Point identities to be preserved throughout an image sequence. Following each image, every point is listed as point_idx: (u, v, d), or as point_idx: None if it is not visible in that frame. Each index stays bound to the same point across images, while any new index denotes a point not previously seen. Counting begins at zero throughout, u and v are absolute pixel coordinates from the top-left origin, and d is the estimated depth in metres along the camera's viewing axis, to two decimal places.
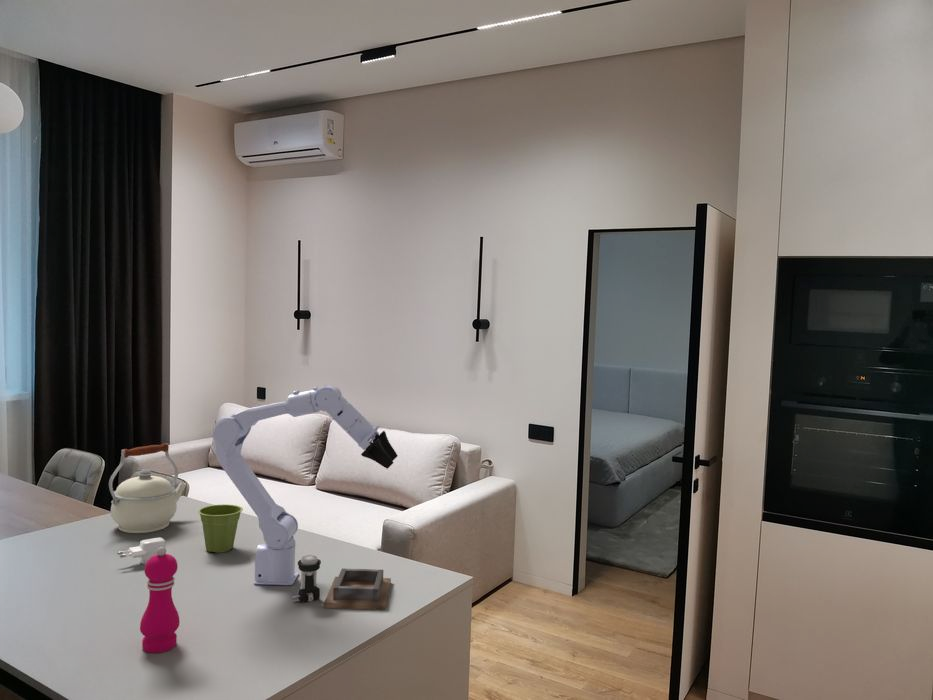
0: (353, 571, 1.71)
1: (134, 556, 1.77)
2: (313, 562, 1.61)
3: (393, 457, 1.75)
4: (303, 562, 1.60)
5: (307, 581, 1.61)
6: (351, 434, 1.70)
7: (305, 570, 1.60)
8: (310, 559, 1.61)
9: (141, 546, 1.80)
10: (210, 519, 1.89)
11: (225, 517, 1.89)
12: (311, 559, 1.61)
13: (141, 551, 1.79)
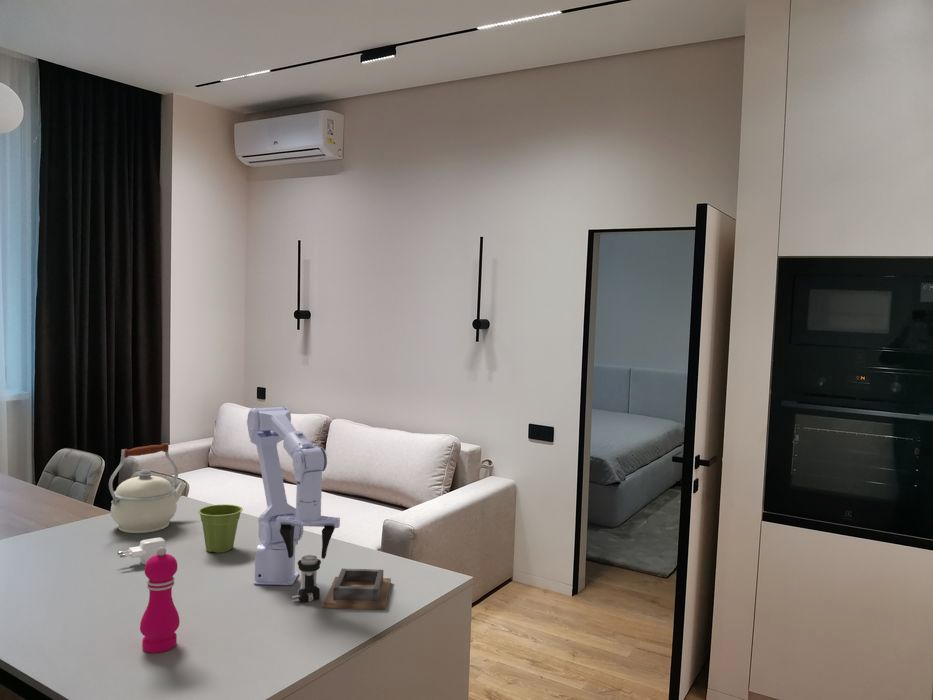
0: (353, 571, 1.71)
1: (134, 556, 1.77)
2: (313, 562, 1.61)
3: None
4: (303, 562, 1.60)
5: (307, 581, 1.61)
6: None
7: (305, 570, 1.60)
8: (310, 559, 1.61)
9: (141, 546, 1.80)
10: (210, 519, 1.89)
11: (225, 517, 1.89)
12: (311, 559, 1.61)
13: (141, 551, 1.79)
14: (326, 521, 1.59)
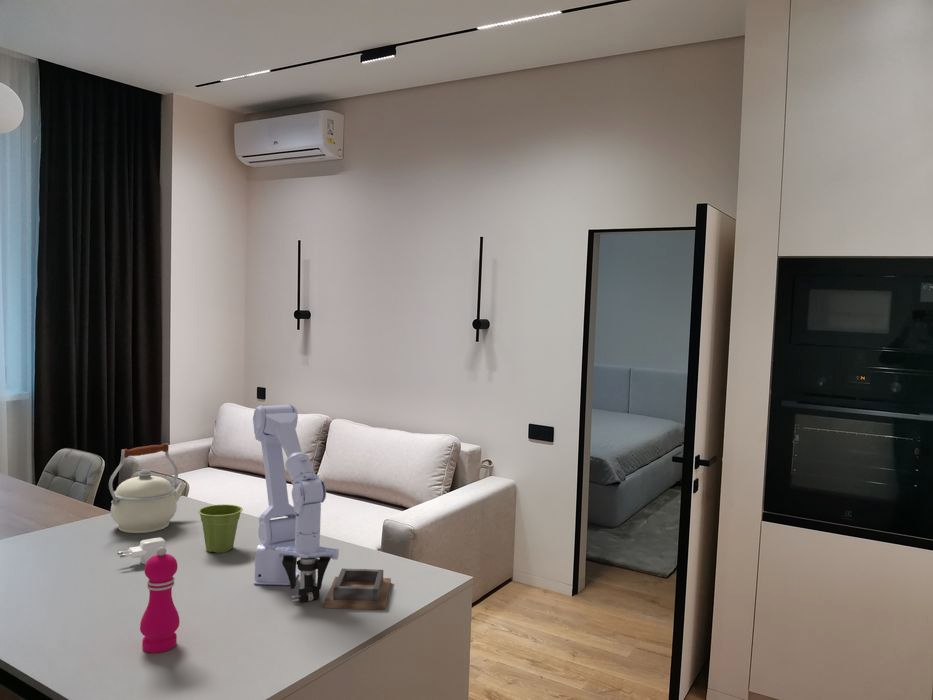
0: (353, 571, 1.71)
1: (134, 556, 1.77)
2: (312, 562, 1.61)
3: None
4: (302, 562, 1.61)
5: (306, 581, 1.61)
6: None
7: (304, 570, 1.60)
8: (309, 559, 1.61)
9: (141, 546, 1.80)
10: (210, 519, 1.89)
11: (225, 517, 1.89)
12: (310, 558, 1.61)
13: (141, 551, 1.79)
14: (325, 553, 1.60)
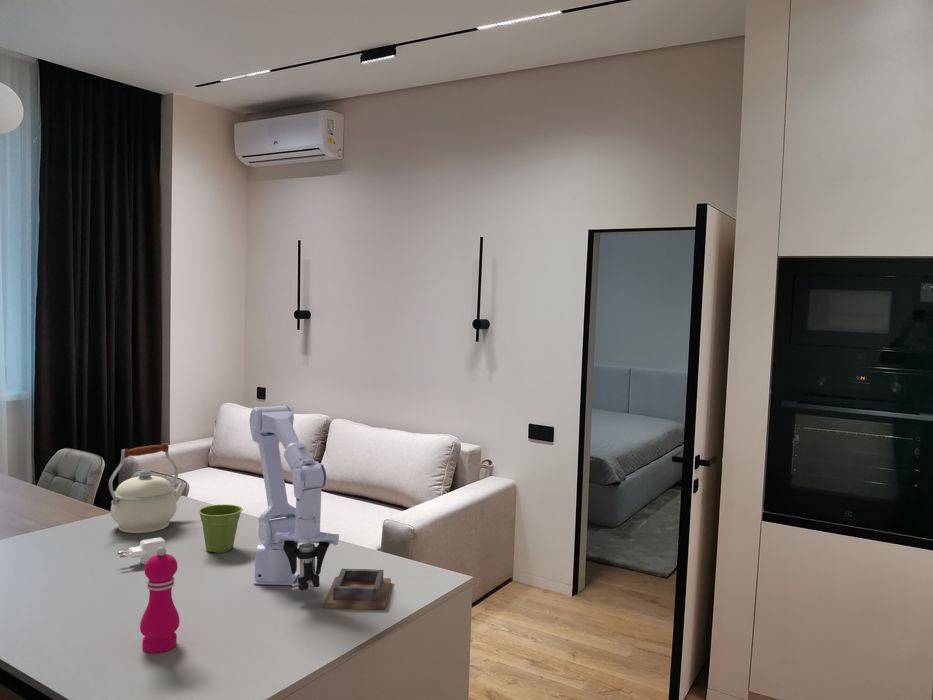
0: (353, 571, 1.71)
1: (134, 556, 1.77)
2: (311, 549, 1.61)
3: None
4: (301, 550, 1.60)
5: (306, 569, 1.61)
6: None
7: (303, 557, 1.60)
8: (307, 546, 1.61)
9: (141, 546, 1.80)
10: (210, 519, 1.89)
11: (225, 517, 1.89)
12: (308, 546, 1.61)
13: (141, 551, 1.79)
14: (325, 538, 1.60)
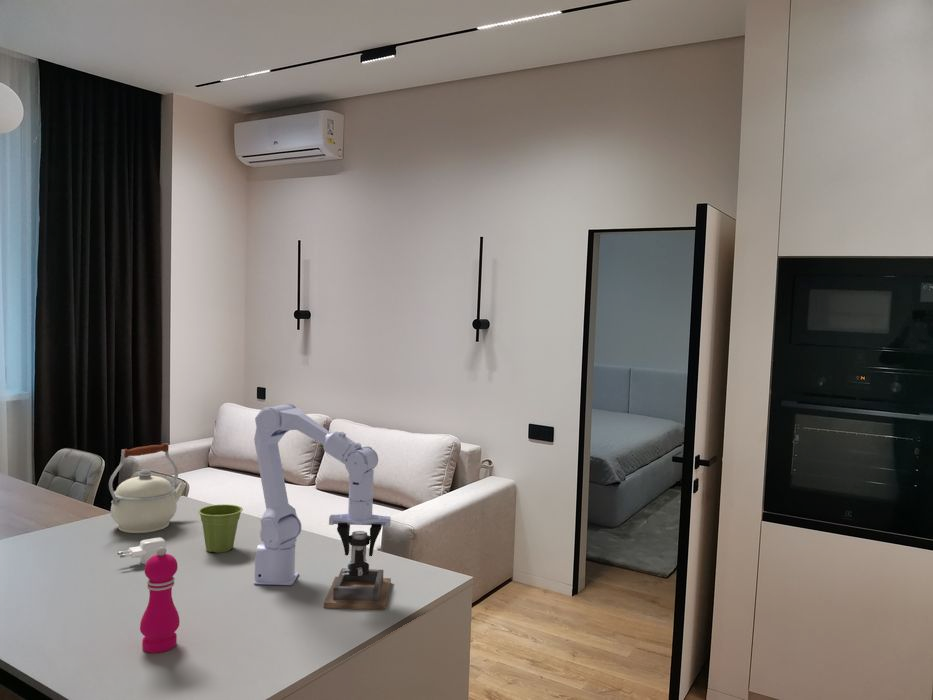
0: None
1: (134, 556, 1.77)
2: (363, 537, 1.64)
3: None
4: (353, 537, 1.64)
5: (357, 556, 1.65)
6: None
7: (355, 544, 1.63)
8: (360, 534, 1.64)
9: (141, 546, 1.80)
10: (210, 519, 1.89)
11: (225, 517, 1.89)
12: (361, 534, 1.65)
13: (141, 551, 1.79)
14: (378, 520, 1.64)
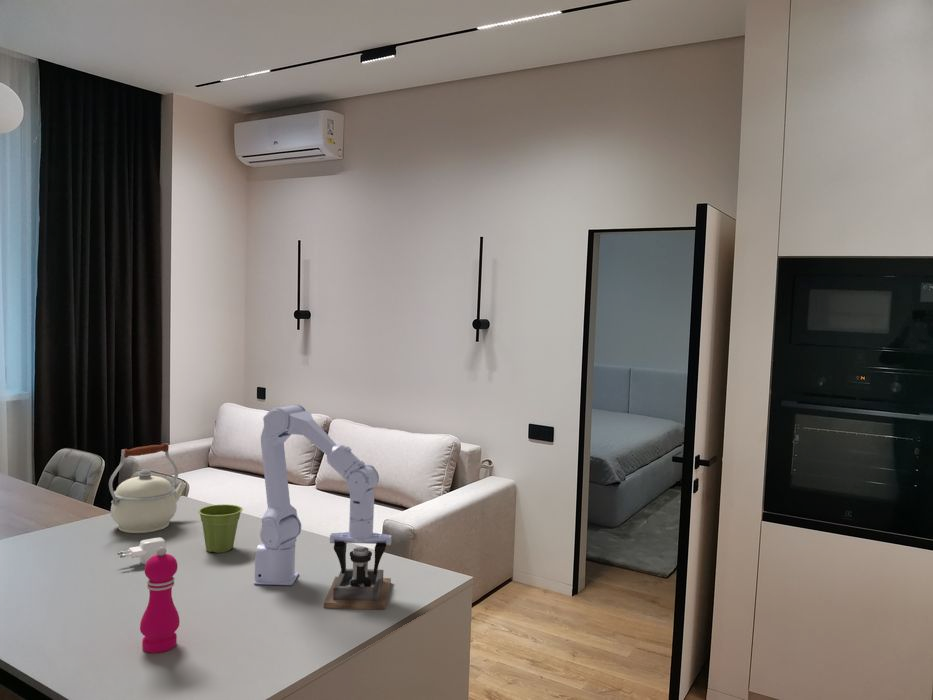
0: None
1: (134, 556, 1.77)
2: (365, 554, 1.64)
3: None
4: (355, 553, 1.64)
5: (359, 572, 1.65)
6: None
7: (357, 561, 1.63)
8: (362, 550, 1.64)
9: (141, 546, 1.80)
10: (210, 519, 1.89)
11: (225, 517, 1.89)
12: (363, 550, 1.65)
13: (141, 551, 1.78)
14: (378, 538, 1.64)
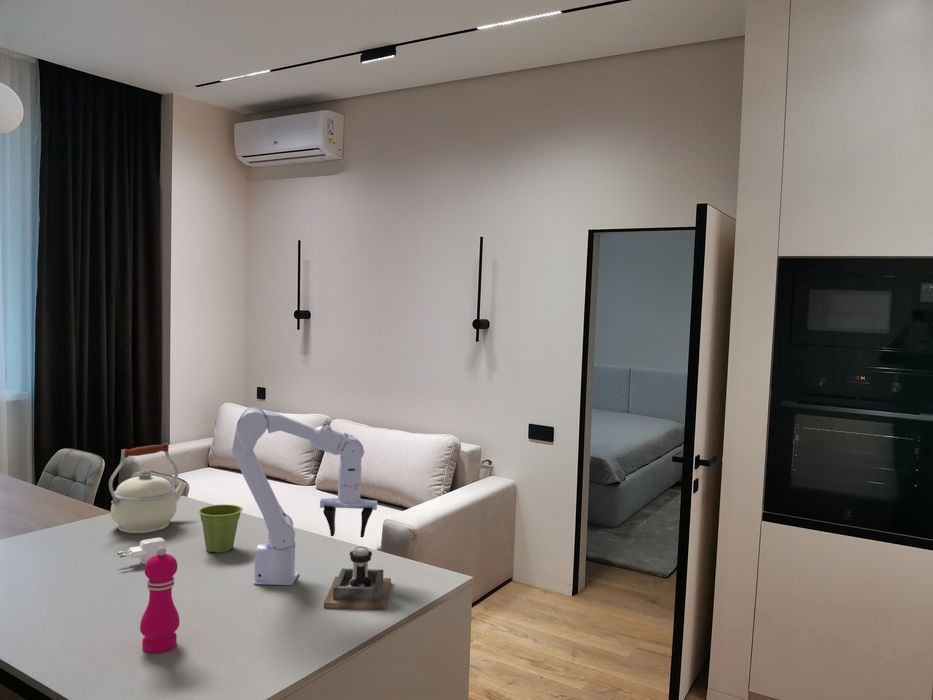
0: None
1: (134, 556, 1.77)
2: (365, 554, 1.64)
3: None
4: (355, 553, 1.64)
5: (359, 572, 1.65)
6: None
7: (357, 561, 1.63)
8: (362, 550, 1.64)
9: (141, 546, 1.80)
10: (210, 519, 1.89)
11: (225, 517, 1.89)
12: (362, 550, 1.65)
13: (141, 551, 1.79)
14: (365, 503, 1.76)
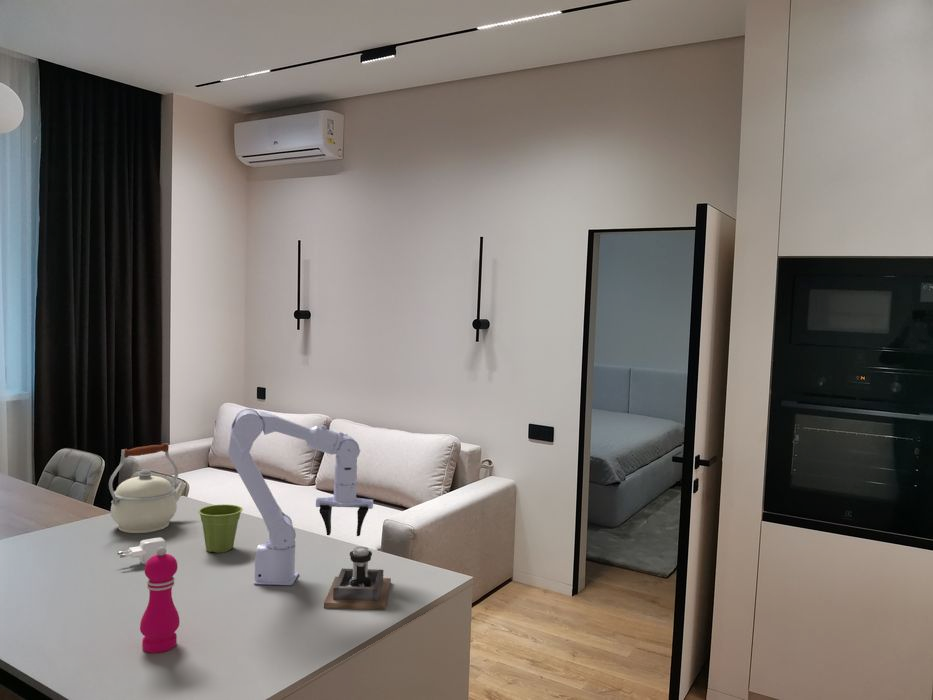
0: None
1: (134, 556, 1.77)
2: (365, 554, 1.64)
3: None
4: (355, 553, 1.64)
5: (359, 572, 1.65)
6: None
7: (357, 561, 1.63)
8: (362, 550, 1.64)
9: (141, 546, 1.80)
10: (210, 519, 1.89)
11: (225, 517, 1.89)
12: (362, 550, 1.65)
13: (141, 551, 1.79)
14: (361, 502, 1.77)
